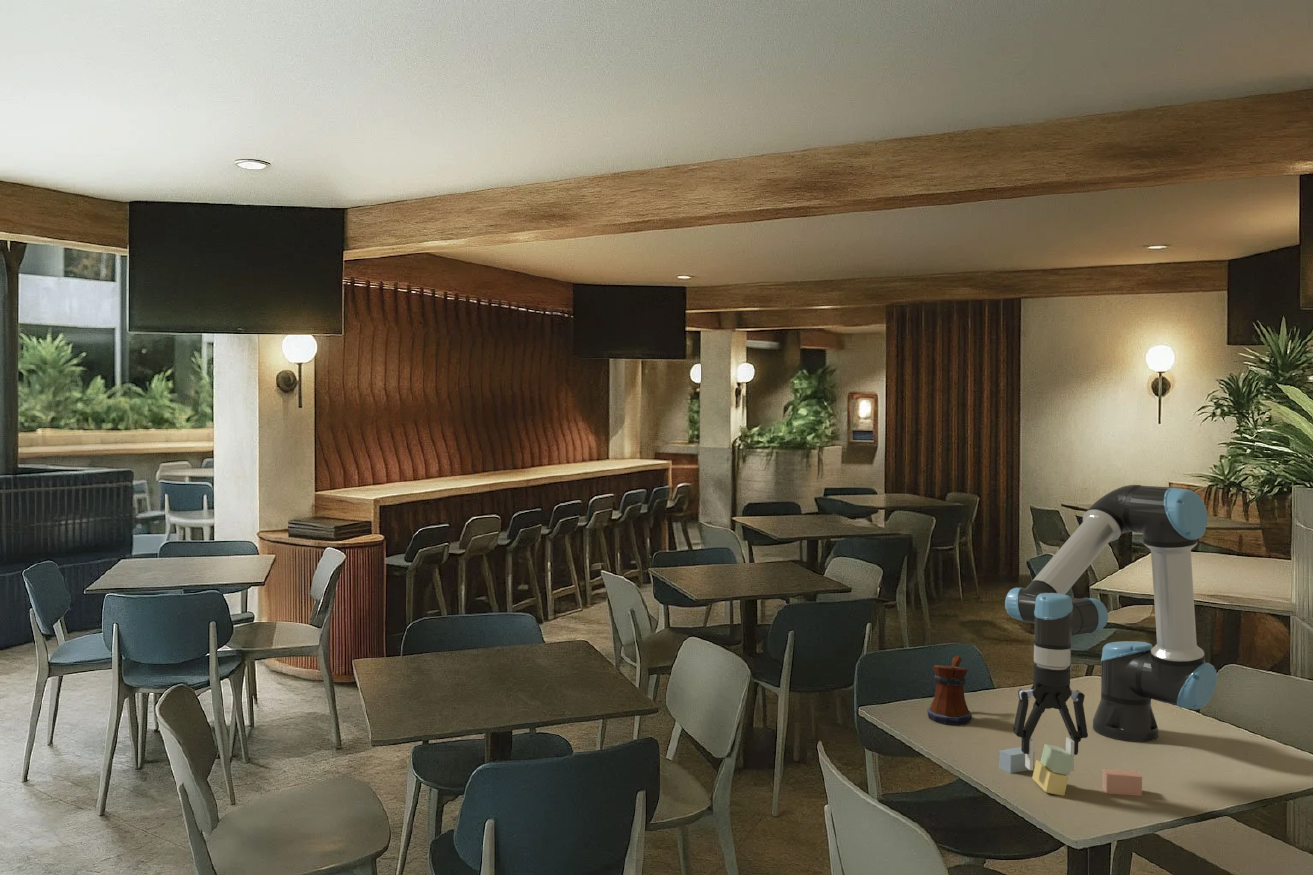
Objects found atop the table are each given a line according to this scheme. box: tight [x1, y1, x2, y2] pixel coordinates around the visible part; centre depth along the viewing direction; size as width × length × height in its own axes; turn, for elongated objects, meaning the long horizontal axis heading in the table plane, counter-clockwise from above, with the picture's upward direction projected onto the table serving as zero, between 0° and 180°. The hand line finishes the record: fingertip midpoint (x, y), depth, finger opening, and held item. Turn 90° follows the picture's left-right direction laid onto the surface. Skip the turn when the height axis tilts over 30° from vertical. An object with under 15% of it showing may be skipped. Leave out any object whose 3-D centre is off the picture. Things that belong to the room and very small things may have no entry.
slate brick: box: [998, 746, 1035, 774], centre depth 230 cm, size 7×4×4 cm, turn 114°
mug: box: [926, 655, 973, 726], centre depth 269 cm, size 18×12×15 cm, turn 154°
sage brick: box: [1039, 743, 1075, 776], centre depth 217 cm, size 6×4×4 cm, turn 6°
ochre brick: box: [1032, 759, 1069, 796], centre depth 218 cm, size 8×4×4 cm, turn 0°
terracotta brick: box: [1101, 768, 1143, 796], centre depth 217 cm, size 7×4×4 cm, turn 82°
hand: (1049, 768), depth 218 cm, fingers open, 8 cm apart
